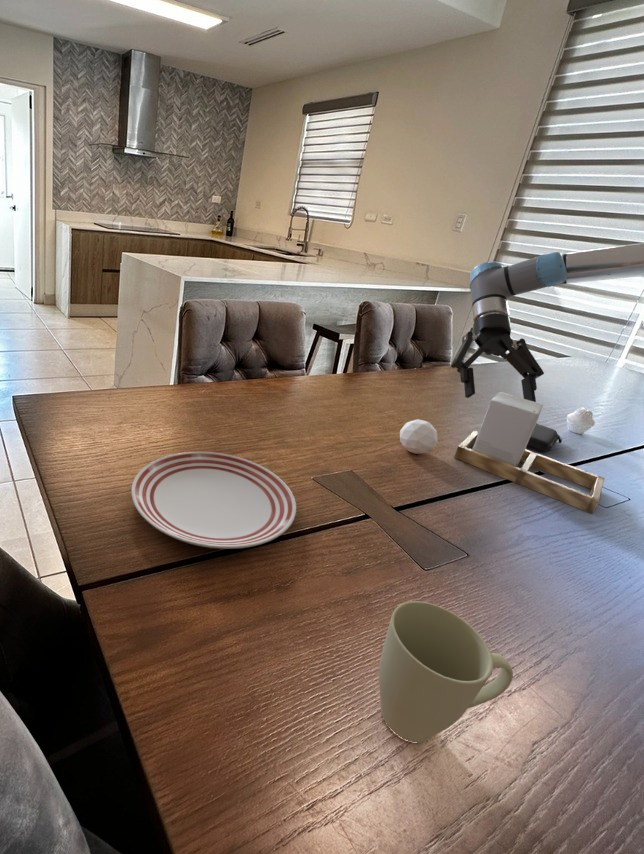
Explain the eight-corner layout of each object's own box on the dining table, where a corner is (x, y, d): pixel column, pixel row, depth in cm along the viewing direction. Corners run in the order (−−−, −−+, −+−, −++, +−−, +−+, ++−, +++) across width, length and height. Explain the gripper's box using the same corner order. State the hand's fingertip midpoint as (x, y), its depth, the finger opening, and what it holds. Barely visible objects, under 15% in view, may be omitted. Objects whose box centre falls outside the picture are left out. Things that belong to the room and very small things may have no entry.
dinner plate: (99, 489, 81) (100, 473, 79) (216, 450, 98) (218, 435, 96) (203, 594, 62) (206, 575, 61) (325, 523, 79) (330, 507, 78)
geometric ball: (419, 464, 108) (448, 450, 101) (391, 450, 106) (418, 435, 100) (418, 437, 112) (445, 422, 106) (391, 423, 111) (416, 407, 105)
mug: (431, 797, 43) (476, 712, 38) (343, 705, 50) (372, 624, 46) (484, 731, 49) (529, 651, 45) (400, 657, 57) (431, 581, 52)
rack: (598, 489, 101) (604, 477, 99) (592, 514, 91) (599, 501, 90) (470, 440, 116) (474, 430, 115) (453, 457, 107) (458, 446, 106)
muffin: (559, 429, 130) (570, 406, 127) (564, 424, 134) (575, 401, 131) (586, 438, 126) (598, 415, 123) (591, 433, 130) (602, 410, 127)
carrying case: (550, 458, 112) (562, 442, 122) (556, 447, 111) (567, 431, 121) (501, 440, 119) (516, 425, 128) (505, 429, 117) (520, 415, 127)
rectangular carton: (519, 463, 108) (545, 404, 102) (512, 476, 102) (539, 414, 96) (476, 447, 113) (498, 390, 107) (467, 459, 107) (490, 399, 101)
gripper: (532, 334, 119) (543, 412, 111) (432, 321, 120) (437, 398, 112) (553, 319, 112) (567, 401, 104) (448, 305, 113) (453, 385, 105)
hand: (500, 399), depth 108 cm, fingers open, 13 cm apart
